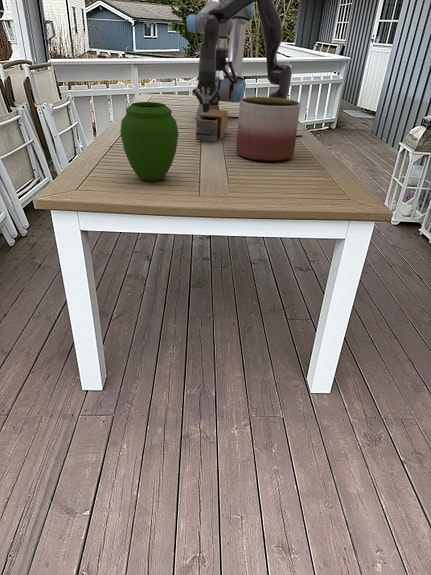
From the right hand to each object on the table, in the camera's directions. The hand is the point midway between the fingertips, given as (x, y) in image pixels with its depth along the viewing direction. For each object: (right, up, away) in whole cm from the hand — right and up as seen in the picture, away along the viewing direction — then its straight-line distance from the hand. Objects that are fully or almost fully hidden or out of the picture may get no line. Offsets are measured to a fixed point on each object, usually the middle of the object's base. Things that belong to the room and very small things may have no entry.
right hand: (206, 112), depth 188 cm
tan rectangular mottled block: (+3, -2, +24) cm, 24 cm away
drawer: (+1, -7, +13) cm, 15 cm away
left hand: (+5, +15, +19) cm, 25 cm away
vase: (-19, -42, -41) cm, 61 cm away
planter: (+26, -22, -7) cm, 35 cm away
